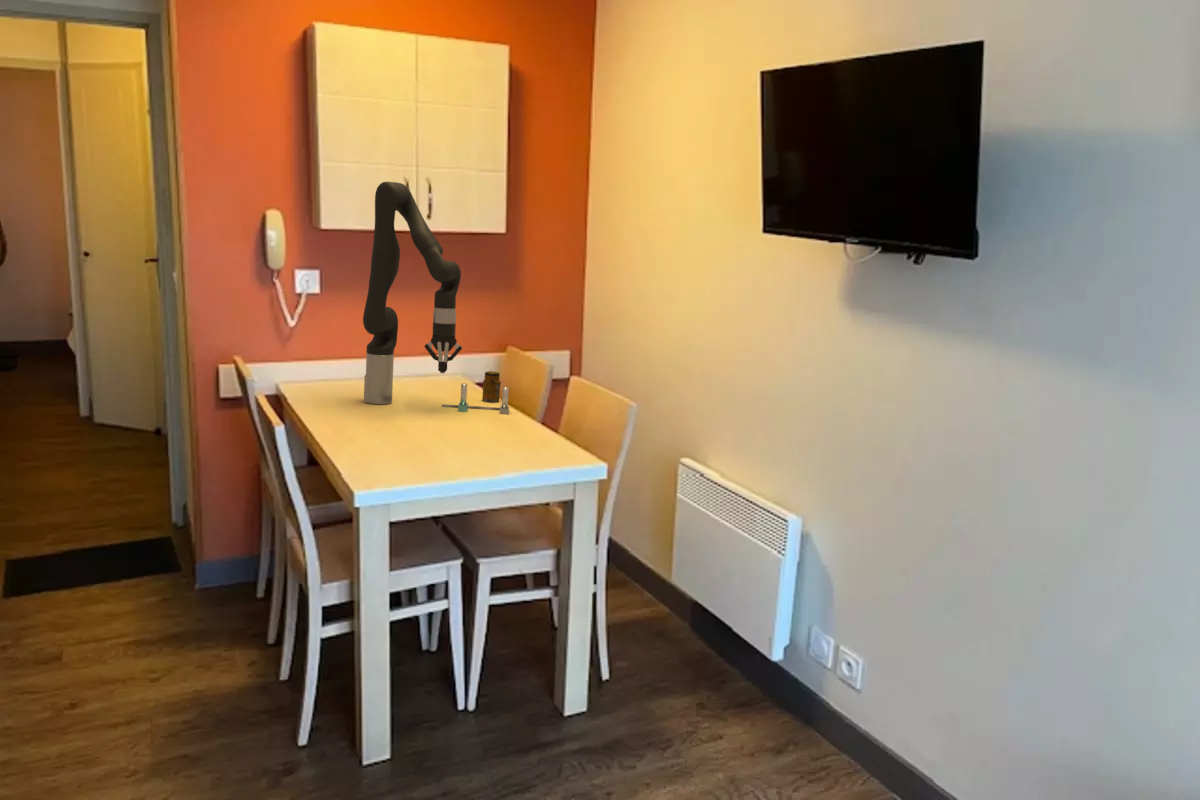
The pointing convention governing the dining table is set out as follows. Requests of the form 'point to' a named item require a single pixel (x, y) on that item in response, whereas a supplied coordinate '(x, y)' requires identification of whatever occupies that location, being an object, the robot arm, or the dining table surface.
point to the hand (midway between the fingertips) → (442, 372)
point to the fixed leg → (504, 401)
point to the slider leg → (463, 399)
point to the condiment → (491, 387)
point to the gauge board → (472, 407)
